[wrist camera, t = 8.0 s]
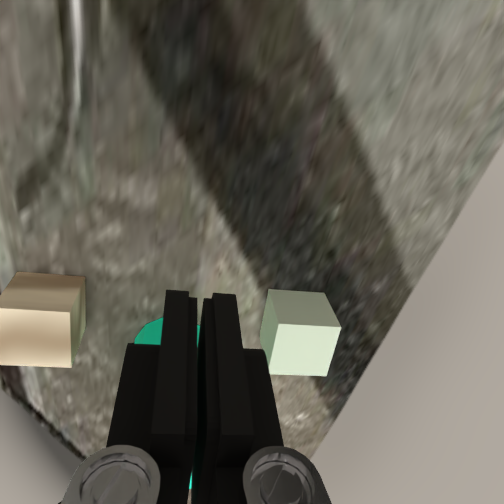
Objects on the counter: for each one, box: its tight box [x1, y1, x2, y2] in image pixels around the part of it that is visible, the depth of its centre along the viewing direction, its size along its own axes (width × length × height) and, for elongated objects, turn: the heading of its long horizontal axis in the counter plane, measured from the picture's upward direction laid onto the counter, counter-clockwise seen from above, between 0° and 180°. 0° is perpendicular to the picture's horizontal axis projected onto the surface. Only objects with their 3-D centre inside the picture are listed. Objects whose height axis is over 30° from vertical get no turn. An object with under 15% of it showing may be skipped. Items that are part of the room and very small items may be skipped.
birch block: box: [0, 272, 86, 368], centre depth 30 cm, size 4×4×4 cm
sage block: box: [259, 289, 341, 376], centre depth 33 cm, size 4×4×4 cm
